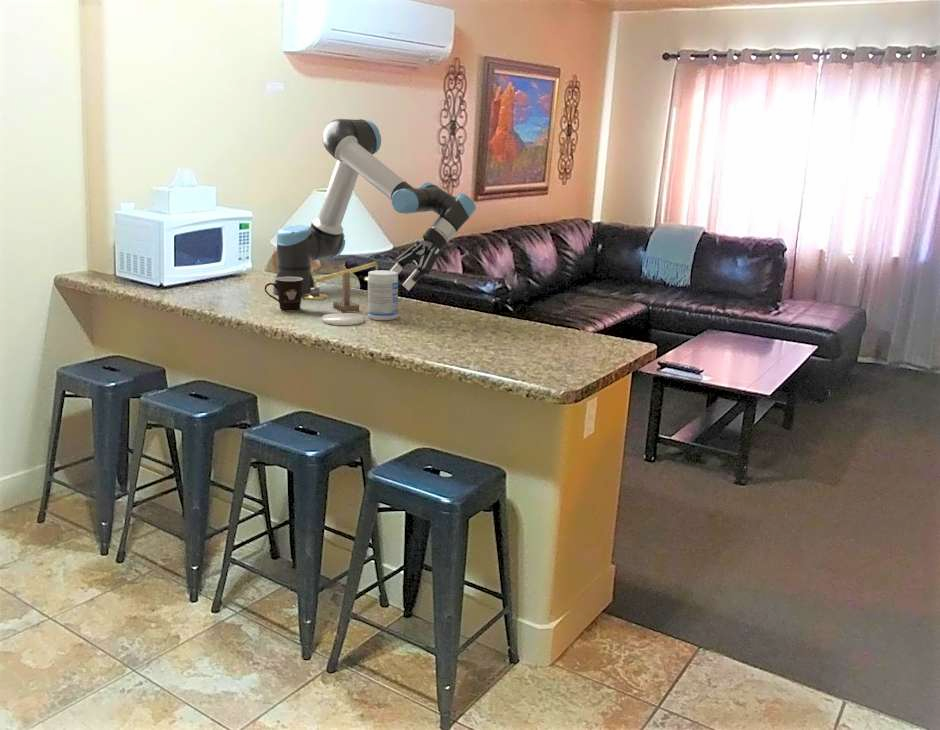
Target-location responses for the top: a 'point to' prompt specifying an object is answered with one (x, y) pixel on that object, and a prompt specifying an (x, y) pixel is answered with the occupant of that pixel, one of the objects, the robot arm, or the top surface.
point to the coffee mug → (288, 292)
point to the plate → (342, 319)
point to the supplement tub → (382, 295)
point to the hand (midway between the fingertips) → (395, 284)
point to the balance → (346, 303)
